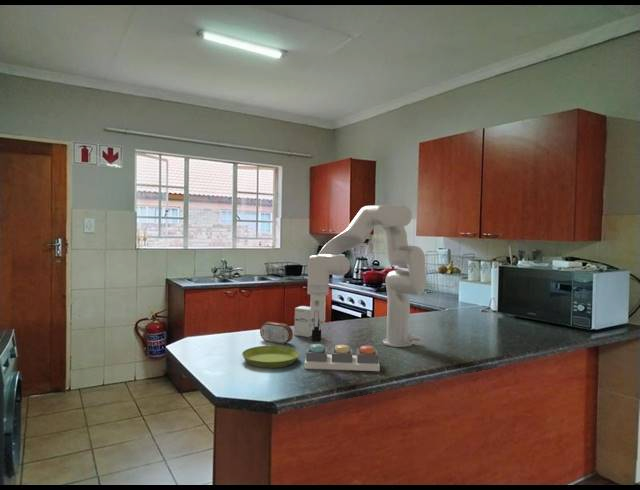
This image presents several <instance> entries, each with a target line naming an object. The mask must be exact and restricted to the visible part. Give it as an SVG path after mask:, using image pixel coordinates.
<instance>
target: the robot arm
mask: <svg viewBox="0 0 640 490" xmlns="http://www.w3.org/2000/svg"><path fill="white" fill-rule="evenodd" d="M412 219H413V212H412V210H411V209H410V207H409V206H407V205H404V204H397V205H393V204H373V205H371V204H370V205H369V204H368V205H365V206H363V207H361V208H360V210H359V211H358V212H357V213H356V215H355V216H354V217H353V219H352V220H351V222H350V223H349V225H348V226H347V227H346V229H345V230H344V231H342V232H340V233H339V234H338V235H336V236H334V237H333V238H332V239H330V240H328V242H326V243H325V244H324V246H323V247H322V248H321V250H319V252H318V254H313V255H309V258H308V260H307V261H308V265H307V267H308V268H307V269H308V270H307V295H310V303H309V304H310V306H309V307H310V316H311V322H313V329H312V335H311V341H312V342H321V341H322V327H321V326H322V324H324V323H326V307H327V305H326V304H327V303H326V301H327V300H326V299H327V297H326V296H328V295H329V288H330V287H329V285H330V275H332V276H340V277H341V276H344V275H346V274H347V273H349V271H350V268H351V262H350V260H349V258H348V257H346V256H344V255H342V254H343V253H344V252H347V251H348V250H352V249H355V248H358V247H360V246H362V245H363V244H365V241H366V240H367V239H368V237H369V236H370V234H371V232H373V230H374V229H375V228H382V230H383V231H384V233H385V238H386V246H387V247H386V248H387V249H386V250H387V261H388V264H389V265H390V266H392V267H394V268H400V269H401V270H400V269H395V270H394V269H393V270H390V271H389V272H388V273H387V274H386V276H385V280H384V281H385V288H386V293H387V294H386V295H387V303H386V305H387V306H386V309H387V311H386V337H385V338H382V339H383V340H382V344H383V345H385V346H387V347H388V346H389V347H393V348H408V347H411V346H413V344H414V342H413V341H419V342H420V341H421V336H419V335H416V334H415V335H413V334H412V335H411V334H410V318H411V315H410V314H411V313H410V312H411V310H410V307H411V304H410V302H411V301H410V299H409V297H408V295H411V296H412V295H413V296H419V295H420V296H421V295H422V294H423V293H424V291H425V290H426V285H427V272H426V255H425V253H424V250H423V249H422V248H421V247H420V246H416V245H409V243H408V235H407V231H406V228H405V227H407V226H409V224H410V223H411V221H412ZM402 269H408V270H402Z"/></svg>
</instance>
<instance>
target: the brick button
mask: <svg viewBox="0 0 640 490" xmlns="http://www.w3.org/2000/svg"><path fill="white" fill-rule="evenodd" d="M359 349H360V354H374V349H375V346H373V345H372V346H371V345H361V346H360V347H359Z"/></svg>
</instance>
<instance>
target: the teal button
mask: <svg viewBox="0 0 640 490" xmlns="http://www.w3.org/2000/svg"><path fill="white" fill-rule="evenodd" d="M309 347H310V352H318V353H324V348H325V345H324V344H321V343H313V344H310V346H309Z"/></svg>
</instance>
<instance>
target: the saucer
mask: <svg viewBox="0 0 640 490" xmlns="http://www.w3.org/2000/svg"><path fill="white" fill-rule="evenodd" d="M241 355H242V357H243V359H244V361H246V362H247V363H249V364H250V365H252V366H254V367H256V368H257V367H258V368H264V369H265V368H267V369H275V368H282V367H288V366H289V365H292V364H293V363H294V362H295V361H296V360H297V359H298V357H299V356H300V352H299V351H298V350H297V349H295V348H292V347H287V346H282V345H281V346H280V345H260V346H254V347H253V346H252V347H249V348H246V349H244V350H243V352H242V353H241Z"/></svg>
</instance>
